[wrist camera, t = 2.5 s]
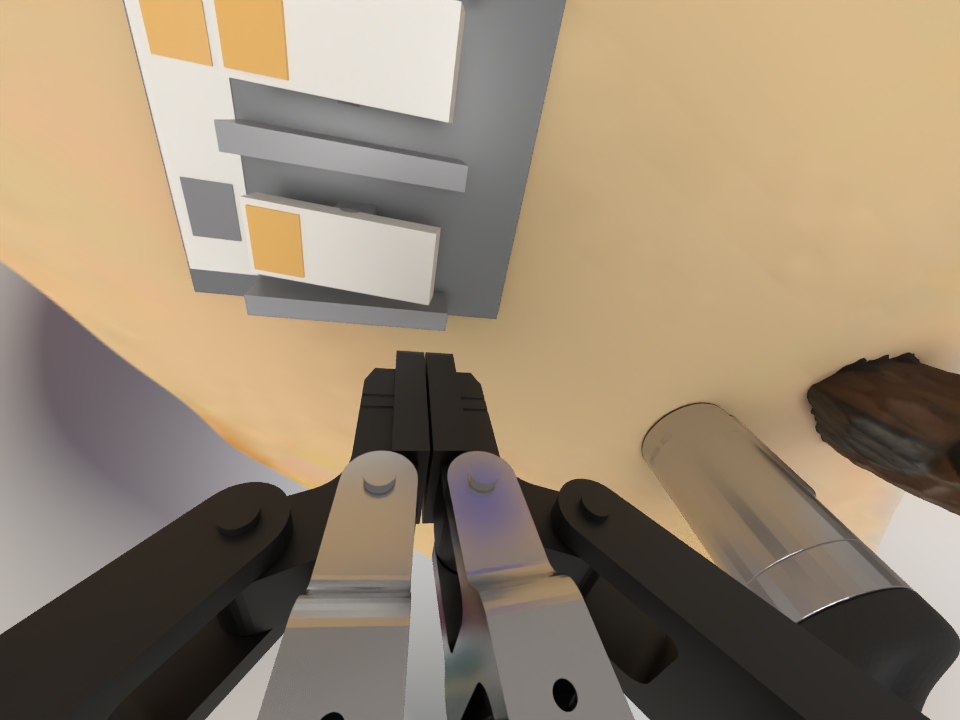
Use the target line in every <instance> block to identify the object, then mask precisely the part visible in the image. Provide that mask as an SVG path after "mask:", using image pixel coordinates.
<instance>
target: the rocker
mask: <svg viewBox="0 0 960 720" xmlns="http://www.w3.org/2000/svg"><path fill="white" fill-rule="evenodd" d="M239 197H240V204H241V210H242V216H243V223H244V229H245V235H246V242H247V248H248V254H249V261H250V267H251V273H255V274H261V275H266V276H272V277H277V278H283V279H288V280H293V281H299V282H304V283H310V284H315V285H321V286H326V287H332V288H337V289H342V290H348V291H353V292H359V293H364V294H370V295H375V296H380V297H386V298H391V299H397V300H402V301H408V302H413V303H419V304H424V305H429V303H430V301H431V299H432V297H433V292H434V283H435V274H436V266H437V257H438V248H439V239H440V230H441V228H440V227H434V226H429V225H424V224H419V223H414V222H409V221H403V220H398V219H393V218H388V217H383V216H377V215H372V214H367V213H362V212H360V209H359V208H357V207H353V206H340V208H336V207H331V206H326V205H321V204H315V203H310V202H305V201H300V200H295V199H290V198H284V197H279V196H274V195H269V194H264V193H259V192H256V193H251V194H247V195H243V196H239Z"/></svg>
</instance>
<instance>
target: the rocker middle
mask: <svg viewBox="0 0 960 720" xmlns="http://www.w3.org/2000/svg"><path fill="white" fill-rule="evenodd" d="M208 1H209V7H210V14H211V20H212V26H213V33H214V39H215V45H216V52H217V58H218V64H219V71H220V76H225V77H230V78H234V79H239V80H244V81H249V82H253V83H258V84H263V85H268V86H273V87H278V88H282V89H287V90H292V91H297V92H302V93H307V94H312V95H316V96H321V97H326V98H331V99H336V100H337V103H342V104H346V105H351V106H356V107H360V105H365V106H370V107H375V108H380V109H384V110H389V111H394V112H399V113H404V114H409V115H413V116H418V117H423V118H428V119H433V120H438V121H443V122H447V123H452V124H453V116H454V108H455V99H456V90H457V81H458V73H459V64H460V55H461V46H462V37H463V29H464V20H465V11H464V7H463V4H462V2H461V1H457V0H208Z"/></svg>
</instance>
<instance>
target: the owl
mask: <svg viewBox="0 0 960 720" xmlns="http://www.w3.org/2000/svg"><path fill="white" fill-rule="evenodd" d="M866 361H867V360H866V359H865V358H862V359H860V360H858V361H857V362H855V363H853V364H850V365H847V366H845V367H843V368H842V369H840V370H839V371H838V372H836V373H835V374H833V375H832V376H830V377H828V378H827V379H825V380H823V381H821V382H819V383H817V384H814V385H812V386H811V387H810V389H809V390H808V393H807V399H808V401H809V403H810V404H811V405H812V406H813V408H812V410H811V413H812V414H813V415H815V420H816V421H817V425H816V431H817V432H818V433H819V434H820V435H821V438H822V440H823V441H824V442H826V443H828V444H829V445H830V446H831V447H832V448H833V449H835V450H836V451H837V452H838V453H840V454H841V455H842V456H844V457H845V458H848V459H849V460H850V461H851V462H852V463H853V464H855V465H857V466H859V467H861V468H863V469H866V470H868V471H870V472H872V473H874V474H875V475H877V476H878V477H880V478H882V479H884V480H885V481H887V482H889V483H891V484H893V485H895V486H897V487H899V488H901V489H903V490H904V491H906V492H908V493H910V494H913V495H914V496H917V497H919V498H921V499H923V500H926V501H928V502H930V503H933V504H935V505H938V506H940V507H942V508H944V509H946V510H948V511H950V512H952V513H955V514H957V515H960V375H959V374H955V373H950V372H946V371H943V370H940V369H937V368H934V367H931V366H928V365H925V364H922V363H920V362H919V359H917V358H916V357H915V356H914V354H911V353H905V354H902V355H900V356H898V357H895V358H892V359H889V355H885V356H882V357H880V358H878V359H876V360H869V361H867V362H866Z"/></svg>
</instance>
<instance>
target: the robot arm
mask: <svg viewBox="0 0 960 720" xmlns="http://www.w3.org/2000/svg"><path fill="white" fill-rule="evenodd" d="M642 453H643V457H644V459H645V460H646V462H647V463H648V465H649V466H650V468H651V469H652V471H653V472H654V474H655V475H656V477H657V478H658V479H659V481H660V482H661V484H662V485H663V487H664V489H665V490H666V492H667V493H668V495H669V496H670V497H671V499H672V500H673V502H674V503H675V505H676V506H677V508H678V509H679V511H680V512H681V514H682V515H683V517H684V518H685V520H686V521H687V523H688V524H689V525H690V527H691V528H692V530H693V531H694V533H695V534H696V536H697V537H698V539H699V540H700V542H701V543H702V545H703V546H704V548H705V549H706V551H707V552H708V553H709V555H710V556H711V558H712V559H713V561H714V562H715V564H716V565H717V566H716V565H715V564H713V563H712V562H710V561H709V560H708V559H706V558H705V557H703V556H702V555H701V554H699V553H698V552H696V551H695V550H694V549H692V548H691V547H690V546H688V545H687V544H685V543H684V542H683V541H681V540H680V539H678V538H677V537H676V536H674V535H673V534H671V533H670V532H669V531H667V530H666V529H664V528H663V527H662V526H660V525H659V524H657V523H656V522H655V521H653V520H652V519H651V518H649V517H648V516H646V515H645V514H644V513H642V512H641V511H639V510H638V509H637V508H635V507H634V506H632V505H631V504H630V503H628V502H627V501H625V500H624V499H623V498H621V497H620V496H618V495H617V494H616V493H614V492H613V491H612V490H610V489H609V488H607V487H606V486H604V485H602V484H600V483H598V482H595V481H592V480H588V479H575V480H571V481H569V482H567V483H566V484H564V485H563V487H562V488H561V490H560V492H559V491H555V490H551V489H548V488H544V487H540V486H537V485H533V484H530V483H527V482H525V481H523V480H521V479H520V478H518V477H516V475H515V473H514V471H513V469H512V468H511V466H510V465H509V464H508V463H507V462H506V461H504V460H503V459H502V458H500V455H499V452H498V448H497V444H496V440H495V437H494V433H493V429H492V425H491V421H490V418H489V414H488V412H487V406H486V402H485V401H484V395H483V391H482V387H481V384H480V383H479V382H478V381H477V380H476V379H475V378H474V376H473V375H472V374H471V373H461V372H456V369H455V363H454V358H453V354H443V353H428V352H426V354H425V359H424V352H411V351H397V355H396V369H383V368H375V369H374V370H373V371H372V372H371V373H370V374H369V375H368V376H367V378H366V379H365V381H364V387H363V393H362V398H361V404H360V410H359V416H358V422H357V428H356V434H355V440H354V446H353V452H352V456H351V460H350V462H349V464H348V465H347V466H346V467H345V469H344V470H343V472H342V473H341V474H340V475H339V476H337V477H336V478H335V479H333V480H332V481H330V482H328V483H326V484H324V485H322V486H320V487H317V488H314V489H311V490H307V491H304V492H300V493H297V494H293V495H289V496H286V494H285V493H284V492H283V491H282V490H281V489H280V488H278V487H276V486H274V485H272V484H269V483H263V482H249V483H243V484H239V485H235V486H232V487H229V488H227V489H224V490H222V491H220V492H218V493H216V494H215V495H213V496H211V497H210V498H208V499H207V500H205V501H204V502H202V503H201V504H199V505H198V506H196V507H195V508H193V509H192V510H190V511H188V512H187V513H185V514H184V515H182V516H181V517H179V518H178V519H176V520H175V521H173V522H172V523H170V524H169V525H167V526H166V527H164V528H162V529H161V530H160V531H158V532H157V533H155V534H153V535H152V536H150V537H149V538H147V539H146V540H144V541H143V542H141V543H140V544H138V545H137V546H135V547H134V548H132V549H130V550H129V551H127V552H126V553H124V554H123V555H121V556H120V557H118V558H117V559H115V560H114V561H112V562H111V563H109V564H108V565H106V566H104V567H103V568H101V569H100V570H99V571H97V572H96V573H94V574H92V575H91V576H89V577H88V578H86V579H85V580H83V581H82V582H80V583H78V584H77V585H75V586H74V587H72V588H71V589H69V590H68V591H66V592H65V593H63V594H62V595H60V596H59V597H57V598H56V599H54V600H53V601H51V602H50V603H48V604H46V605H45V606H43V607H42V608H40V609H39V610H37V611H36V612H34V613H33V614H31V615H30V616H28V617H27V618H25V619H24V620H22V621H21V622H19V623H17V624H16V625H14V626H13V627H12V628H10V629H8V630H7V631H5V632H4V633H2V634H1V635H0V720H205V719H206V718H207V717H208V716H209V715H210V713H211V712H212V711H213V710H214V709H215V708H216V707H217V706H218V705H219V704H220V702H221V701H222V700H223V699H224V698H225V697H226V696H227V695H228V694H229V693H230V692H231V690H232V689H233V688H234V687H235V686H236V685H237V684H238V682H240V680H241V679H242V678H243V677H244V676H245V675H246V674H247V673H248V672H249V671H250V670H251V669H252V667H253V666H254V665H255V664H256V663H257V662H258V661H259V660H260V659H261V658H262V656H263V655H264V654H265V653H266V652H267V651H268V650H269V649H270V648H271V647H272V646H273V644H274V643H275V642H276V641H277V640H278V639H279V638H280V637H281V636H282V635H283V633H284V635H283V638H282V641H281V644H280V648H279V651H278V654H277V657H276V661H275V664H274V667H273V670H272V674H271V677H270V680H269V683H268V686H267V690H266V693H265V696H264V699H263V702H262V706H261V709H260V712H259V715H258V719H257V720H403V718H404V703H405V687H406V673H407V657H408V643H409V627H410V610H411V592H410V589H411V571H412V557H413V543H414V533H415V526H416V524H420V517H421V510H422V523H434V537H435V541H434V547H433V552H432V562H433V570H434V577H435V585H436V593H437V601H438V609H439V617H440V625H441V632H442V640H443V648H444V658H445V703H446V715H447V720H635V719H634V717H633V715H632V713H631V710H630V708H629V705H628V703H627V700H626V698H625V696H624V694H625V695H626V696H627V697H628V698H629V699H630V700H631V701H632V702H633V703H634V704H635V705H636V706H637V707H638V708H639V709H640V710H641V711H642V712H643V713H644V714H645V715H646V716H647V717H648V718H649V719H650V720H930V719H929V718H927V717H926V716H925V715H923V714H922V713H921V711H922V708H923V706H924V703H925V700H926V698H927V696H928V695H929V693H930V691H931V690H932V688H933V687H934V685H935V684H936V683H937V682H938V680H939V679H940V678H941V677H942V675H943V674H944V673H945V672H946V671H947V670H948V668H949V667H950V666H951V665H952V664H953V662H954V661H955V660H956V658H957V657H958V655H959V652H960V639H959V636H958V635H957V633H956V632H955V630H954V629H953V628H952V626H951V625H950V624H949V623H948V622H947V621H946V620H945V619H944V618H943V617H942V616H941V615H940V614H939V613H938V612H937V611H936V610H935V609H933V607H931V606H930V605H929V604H928V603H927V602H926V601H925V600H924V599H923V598H922V597H921V596H920V595H919V594H918V593H917V592H915V591H914V590H913V589H912V588H911V587H910V586H909V585H908V584H907V583H906V582H905V581H903V580H902V579H901V578H900V577H899V576H898V575H897V574H896V573H895V572H894V571H893V570H892V569H891V568H890V567H889V566H888V565H887V564H885V563H884V562H883V561H882V560H881V559H880V558H879V557H878V556H877V555H876V554H875V553H874V552H873V551H872V550H871V549H870V548H868V547H867V546H866V545H865V544H864V543H863V542H862V541H861V540H860V539H859V538H858V537H857V536H856V535H854V534H853V533H852V532H851V531H850V530H849V529H848V528H847V527H846V526H845V525H844V524H843V523H842V522H841V521H840V520H839V519H838V518H836V517H835V516H834V515H833V514H832V513H831V512H830V511H829V510H828V509H827V508H826V507H825V506H824V505H823V504H822V503H821V502H820V501H819V500H817V499H816V498H815V497H816V494H815V491H814V490H813V489H812V488H811V487H810V486H809V485H808V484H807V483H806V482H805V481H804V480H802V479H801V478H800V477H799V476H798V475H797V474H796V473H795V472H794V471H793V470H792V469H791V468H790V467H788V466H787V465H786V464H785V463H784V462H783V461H782V460H781V459H780V458H779V457H778V456H777V455H776V454H774V453H773V452H772V451H771V450H770V449H769V448H768V447H767V446H766V445H765V444H764V443H763V442H762V441H760V440H759V439H758V438H757V437H756V436H755V435H754V434H753V433H752V432H751V431H750V430H749V429H748V428H746V427H745V426H744V425H743V424H742V423H741V422H740V421H739V420H738V419H737V418H736V417H734V416H729V415H728V414H727V413H726V412H725V411H724V410H723V409H721V408H720V407H718V406H716V405H712V404H694V405H690V406H687V407H683V408H681V409H679V410H676V411H674V412H672V413H671V414H669V415H667V416H666V417H664V418H663V419H662V420H660V421H659V422H658V423H657V424H656V425H655V426H654V427H653V428H652V429H651V430H650V432H649V433H648V435H647V436H646V438H645V440H644V442H643V447H642Z"/></svg>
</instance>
